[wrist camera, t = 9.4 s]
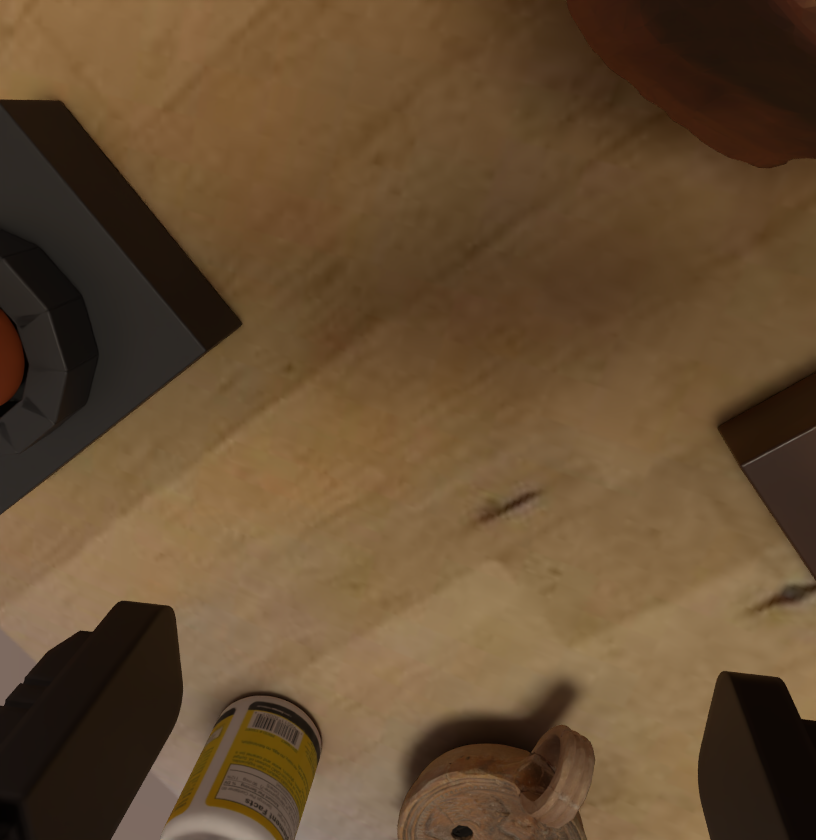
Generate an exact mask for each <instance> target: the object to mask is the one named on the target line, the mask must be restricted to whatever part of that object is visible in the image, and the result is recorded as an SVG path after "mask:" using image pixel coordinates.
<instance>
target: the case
mask: <svg viewBox="0 0 816 840" xmlns="http://www.w3.org/2000/svg"><path fill="white" fill-rule="evenodd" d="M566 1H567V5H568V9H569V12H570V14H571V16H572V18H573V20H574V21H575V23H576V24H577V26H578V28H579V29H580V31H581V32H582V34H583V36H584V38H585V39H586V41H587V43H588V44H589V45H590V47H591V48H592V50H593V51H594V52H595V53H597V54H598V55H599V56H600V57H601V59H602V60H603V61H604V63H605V64H606V65H607V66H608V67H609V68H610V69H611V70H612V71H614V72H615V73H616V74H618V75H619V76H621V77H622V78H624V79H626V80H627V81H628V82H629V83H630V84H632V85H633V86H634V87H635V88H636V89H637V90H638V91H639V93H640V94H641V95H642V96H643V97H644V98H645V99H647V100H648V101H650V102H652V103H654V104H655V105H657V106H658V107H660V108H661V109H663V110H664V111H665V112H666V113H667V115H668V116H669V117H670V118H671V119H672V120H673V121H675V122H676V123H678V124H680V125H682V126H684V127H685V128H687V129H688V130H689V131H690V132H691V133H692V134H693V135H695V136H696V137H697V138H698V139H700V140H701V141H702V142H704V143H705V144H707V145H708V146H709V147H711V148H713V149H714V150H716V151H717V152H720V153H722V154H724V155H725V156H727V157H729V158H732V159H736V160H739V161H743V162H746V163H748V164H751V165H753V166H756V167H759V168H772V167H776V166H780V165H784V164H786V163H787V162H788V161H789V160H792V159H799V158H814V159H816V0H566Z"/></svg>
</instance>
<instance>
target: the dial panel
mask: <svg viewBox="0 0 816 840" xmlns="http://www.w3.org/2000/svg"><path fill="white" fill-rule="evenodd" d="M718 431H719V432H720V434H721V436H722V437H723V439H724V441H725V443H726V444H727V446H728V448H729V449H730V451H731V453H732V454H733V456H734V458H735V460H736V461H737V463H738V465H739V466H740V468H741V470H742V471H743V472H744V474H745V475H746V477H747V478H748V480H749V481H750V483H751V484H752V486H753V487H754V489H755V490H756V492H757V493H758V495H759V496H760V498H761V499H762V501H763V502H764V504H765V505H766V507H767V508H768V510H769V511H770V513H771V514H772V516H773V517H774V519H775V520H776V522H777V523H778V525H779V526H780V528H781V529H782V531H783V532H784V534H785V535H786V537H787V538H788V540H789V541H790V543H791V544H792V546H793V547H794V549H795V550H796V552H797V553H798V555H799V556H800V558H801V559H802V561H803V562H804V564H805V565H806V567H807V568H808V570H809V571H810V573H811V574H812V576H813V577H814V579H815V580H816V373H814V374H812V375H810V376H809V377H807V378H805V379H803V380H801V381H800V382H798V383H796V384H794V385H792V386H791V387H789V388H787V389H785V390H783V391H782V392H780V393H778V394H776V395H774V396H773V397H771V398H769V399H767V400H765V401H764V402H762V403H760V404H758V405H756V406H755V407H753V408H751V409H749V410H747V411H746V412H744V413H742V414H740V415H738V416H737V417H735V418H733V419H731V420H729V421H728V422H726V423H724V424H722V425H720V426H719V427H718Z"/></svg>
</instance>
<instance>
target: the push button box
mask: <svg viewBox="0 0 816 840" xmlns="http://www.w3.org/2000/svg"><path fill="white" fill-rule="evenodd" d="M0 308H1V309H2V310H3V312H4V313H5V314H6V315H7V316H8V318H9V319H10V321H11V322H12V324H13V325H14V327H15V329H16V331H17V333H18V335H19V338H20V340H21V343H22V347H23V351H24V358H25V368H24V375H23V379H22V382H21V384H20V386H19V389H18V390H17V392H16V393H15V395H14V396H13V397H12V398H11V399H10V400H8V401H7V402H6V403H4V404H3V405H1V406H0V515H1V514H2V513H3V512H5V511H6V510H7V509H9V508H10V507H11V506H12V505H14V504H15V503H16V502H18V501H19V500H20V499H22V498H23V497H24V496H26V495H27V494H28V493H29V492H31V491H32V490H33V489H35V488H36V487H37V486H39V485H40V484H41V483H42V482H44V481H45V480H46V479H48V478H49V477H50V476H51V475H53V474H54V473H55V472H56V471H58V470H59V469H60V468H62V467H63V466H64V465H65V464H67V463H68V462H69V461H70V460H72V459H73V458H74V457H76V456H77V455H78V454H79V453H81V452H82V451H83V450H84V449H86V448H87V447H88V446H89V445H91V444H92V443H93V442H95V441H96V440H97V439H98V438H100V437H101V436H102V435H103V434H105V433H106V432H107V431H108V430H110V429H111V428H112V427H114V426H115V425H116V424H117V423H119V422H120V421H121V420H122V419H124V418H125V417H126V416H128V415H129V414H130V413H131V412H133V411H134V410H135V409H136V408H138V407H139V406H140V405H141V404H143V403H144V402H145V401H147V400H148V399H149V398H150V397H152V396H153V395H154V394H155V393H157V392H158V391H159V390H160V389H162V388H163V387H164V386H166V385H167V384H168V383H169V382H171V381H172V380H173V379H174V378H176V377H177V376H178V375H180V374H181V373H182V372H183V371H185V370H186V369H187V368H188V367H190V366H191V365H192V364H193V363H195V362H196V361H197V360H199V359H200V358H201V357H202V356H204V355H205V354H206V353H207V352H209V351H210V350H211V349H212V348H214V347H215V346H216V345H218V344H219V343H220V342H221V341H223V340H224V339H225V338H226V337H228V336H229V335H230V334H232V333H233V332H234V331H235V330H237V329H238V328H239V327H240V326H241V325H242V324H241V322H240V321H239V320H238V318H237V317H236V316H235V315H234V314H233V312H232V311H231V310H230V309H229V307H228V306H227V305H226V304H225V302H224V301H223V300H222V299H221V298H220V296H219V295H218V294H217V293H216V291H215V290H214V289H213V288H212V287H211V285H210V284H209V283H208V282H207V280H206V279H205V278H204V277H203V276H202V274H201V273H200V272H199V271H198V269H197V268H196V267H195V266H194V264H193V263H192V262H191V261H190V260H189V258H188V257H187V256H186V255H185V253H184V252H183V251H182V250H181V249H180V247H179V246H178V245H177V244H176V242H175V241H174V240H173V239H172V238H171V236H170V235H169V234H168V233H167V231H166V230H165V229H164V228H163V226H162V225H161V224H160V223H159V222H158V220H157V219H156V218H155V217H154V215H153V214H152V213H151V212H150V211H149V209H148V208H147V207H146V206H145V204H144V203H143V202H142V201H141V200H140V198H139V197H138V196H137V195H136V193H135V192H134V191H133V190H132V188H131V187H130V186H129V185H128V184H127V182H126V181H125V180H124V179H123V177H122V176H121V175H120V174H119V173H118V171H117V170H116V169H115V168H114V166H113V165H112V164H111V163H110V162H109V160H108V159H107V158H106V157H105V155H104V154H103V153H102V152H101V150H100V149H99V148H98V147H97V146H96V144H95V143H94V142H93V141H92V139H91V138H90V137H89V136H88V135H87V133H86V132H85V131H84V130H83V128H82V127H81V126H80V125H79V124H78V122H77V121H76V120H75V119H74V117H73V116H72V115H71V114H70V112H69V111H68V110H67V109H66V108H65V106H64V105H63V104H62V103H61V102H60V101H54V100H0Z"/></svg>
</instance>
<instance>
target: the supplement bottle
mask: <svg viewBox="0 0 816 840" xmlns="http://www.w3.org/2000/svg"><path fill="white" fill-rule="evenodd" d="M320 754H321V738H320V735H319V732H318V730H317V728H316V726H315V725H314V723H313V722H312V720H311V719H310V718H309V717H308V716H307V715H306V714H305V713H304V712H303V711H302V710H301V709H300V708H298V707H297V706H295V705H293V704H292V703H290V702H288V701H285V700H283V699H280V698H276V697H272V696H251V697H247V698H243V699H240V700H238V701H236V702H234V703H232V704H231V705H229V706H228V707H227V708H226V709H225V710H224V711H223V712H222V714H221V715H220V717H219V719H218V720H217V722H216V724H215V726H214V728H213V730H212V732H211V734H210V736H209V738H208V740H207V742H206V744H205V747H204V749H203V751H202V753H201V755H200V757H199V759H198V761H197V763H196V765H195V767H194V769H193V771H192V773H191V775H190V777H189V779H188V781H187V783H186V785H185V787H184V789H183V791H182V793H181V795H180V797H179V799H178V801H177V803H176V805H175V807H174V809H173V811H172V813H171V815H170V817H169V819H168V821H167V823H166V825H165V827H164V829H163V831H162V834H161V837H160V840H294V839H295V836H296V833H297V830H298V827H299V823H300V820H301V817H302V814H303V811H304V807H305V804H306V801H307V798H308V795H309V791H310V788H311V785H312V782H313V779H314V775H315V772H316V768H317V765H318V762H319V759H320Z"/></svg>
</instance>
